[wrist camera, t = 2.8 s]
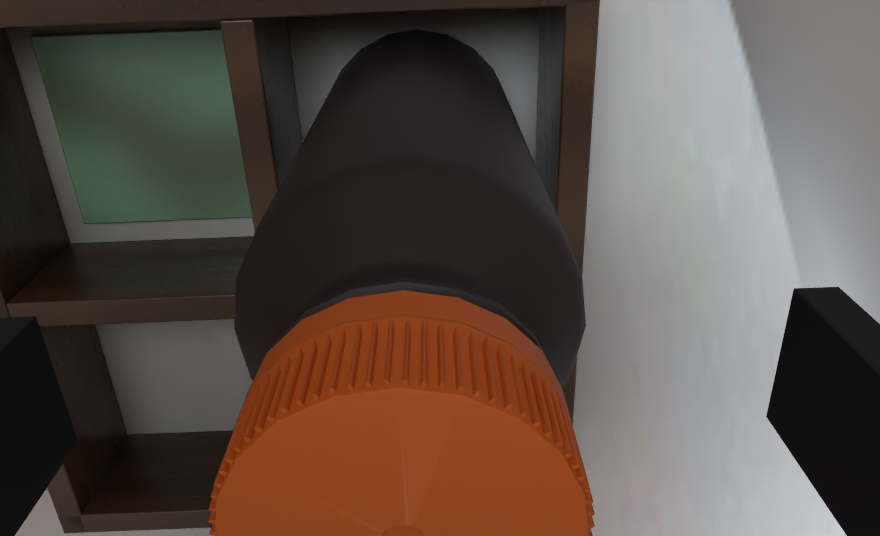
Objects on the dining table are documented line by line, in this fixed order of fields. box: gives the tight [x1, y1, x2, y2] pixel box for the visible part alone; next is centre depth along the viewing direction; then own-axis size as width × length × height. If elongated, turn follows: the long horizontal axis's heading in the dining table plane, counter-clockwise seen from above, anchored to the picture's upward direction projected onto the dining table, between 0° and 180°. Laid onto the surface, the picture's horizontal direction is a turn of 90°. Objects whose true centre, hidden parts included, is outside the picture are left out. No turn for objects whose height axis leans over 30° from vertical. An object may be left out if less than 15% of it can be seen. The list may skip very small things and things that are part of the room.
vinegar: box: [208, 30, 595, 536], centre depth 18 cm, size 7×7×20 cm
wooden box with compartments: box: [0, 0, 600, 533], centre depth 27 cm, size 21×21×5 cm
